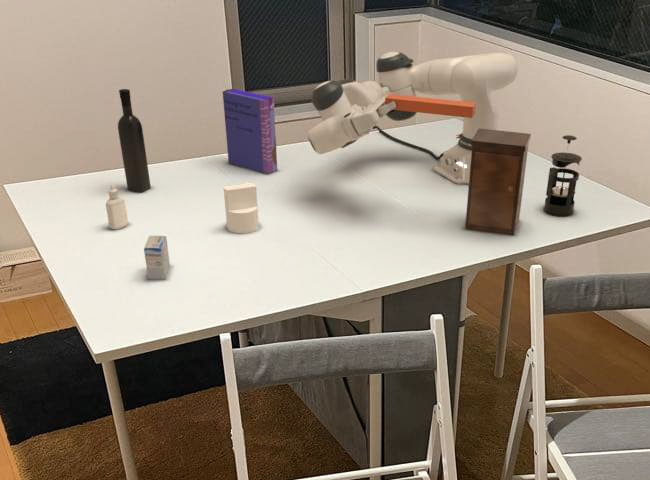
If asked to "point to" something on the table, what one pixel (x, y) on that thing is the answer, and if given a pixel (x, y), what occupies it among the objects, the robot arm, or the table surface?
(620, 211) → the table surface
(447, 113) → the orange rectangular bar
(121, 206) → the eye dropper bottle
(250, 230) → the cylinder with rectangular tab
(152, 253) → the medicine box
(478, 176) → the cabinet
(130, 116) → the wine bottle
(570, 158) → the french press
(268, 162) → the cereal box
